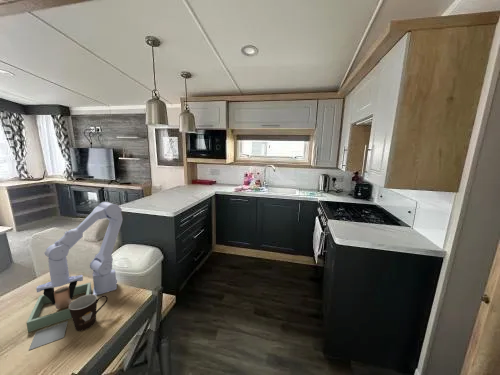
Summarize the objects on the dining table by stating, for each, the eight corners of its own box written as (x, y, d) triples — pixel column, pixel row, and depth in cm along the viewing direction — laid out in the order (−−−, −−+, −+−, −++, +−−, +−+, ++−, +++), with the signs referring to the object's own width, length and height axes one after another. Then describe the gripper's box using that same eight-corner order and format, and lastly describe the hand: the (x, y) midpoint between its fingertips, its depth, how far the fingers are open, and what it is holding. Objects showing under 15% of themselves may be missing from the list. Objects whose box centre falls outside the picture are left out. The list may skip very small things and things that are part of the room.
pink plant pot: (72, 298, 92) (70, 284, 91) (70, 305, 88) (68, 291, 87) (56, 303, 89) (54, 288, 88) (54, 310, 85) (52, 295, 84)
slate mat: (67, 321, 82) (67, 320, 82) (63, 337, 74) (63, 337, 74) (36, 331, 77) (36, 331, 77) (28, 350, 69) (28, 350, 69)
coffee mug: (68, 337, 75) (65, 313, 73) (75, 320, 82) (72, 298, 81) (106, 325, 80) (104, 302, 79) (109, 311, 88) (107, 290, 86)
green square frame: (91, 289, 101) (90, 282, 101) (88, 312, 87) (87, 303, 86) (40, 303, 91) (39, 295, 90) (27, 332, 76) (26, 322, 76)
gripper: (82, 262, 94) (85, 289, 96) (37, 272, 85) (42, 301, 87) (80, 269, 88) (83, 298, 90) (32, 281, 80) (37, 311, 82)
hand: (63, 300), depth 88 cm, fingers closed on pink plant pot, 5 cm apart
